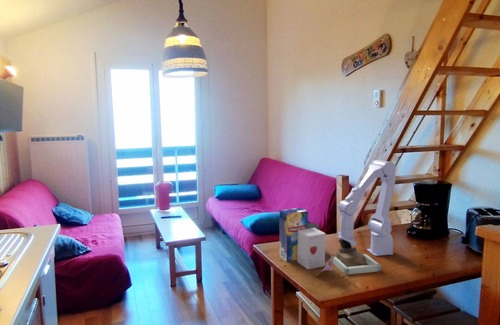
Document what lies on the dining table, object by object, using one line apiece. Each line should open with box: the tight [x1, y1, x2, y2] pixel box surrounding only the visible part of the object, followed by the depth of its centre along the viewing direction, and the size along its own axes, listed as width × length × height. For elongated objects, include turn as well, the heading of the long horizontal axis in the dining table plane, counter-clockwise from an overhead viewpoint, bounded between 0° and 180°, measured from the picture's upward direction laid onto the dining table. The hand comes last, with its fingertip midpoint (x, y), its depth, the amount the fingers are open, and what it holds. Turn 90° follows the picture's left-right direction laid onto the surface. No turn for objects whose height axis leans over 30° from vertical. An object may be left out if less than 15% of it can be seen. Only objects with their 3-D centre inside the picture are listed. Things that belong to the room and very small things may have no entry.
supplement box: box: [296, 228, 327, 270], centre depth 160 cm, size 9×9×15 cm
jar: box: [308, 222, 320, 230], centre depth 177 cm, size 9×8×12 cm
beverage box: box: [278, 207, 309, 263], centre depth 168 cm, size 7×11×22 cm, turn 115°
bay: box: [332, 253, 382, 276], centre depth 158 cm, size 16×12×2 cm
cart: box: [335, 246, 367, 267], centre depth 162 cm, size 11×7×6 cm, turn 101°
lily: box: [315, 255, 338, 278], centre depth 149 cm, size 12×12×10 cm
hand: (346, 255), depth 167 cm, fingers closed
